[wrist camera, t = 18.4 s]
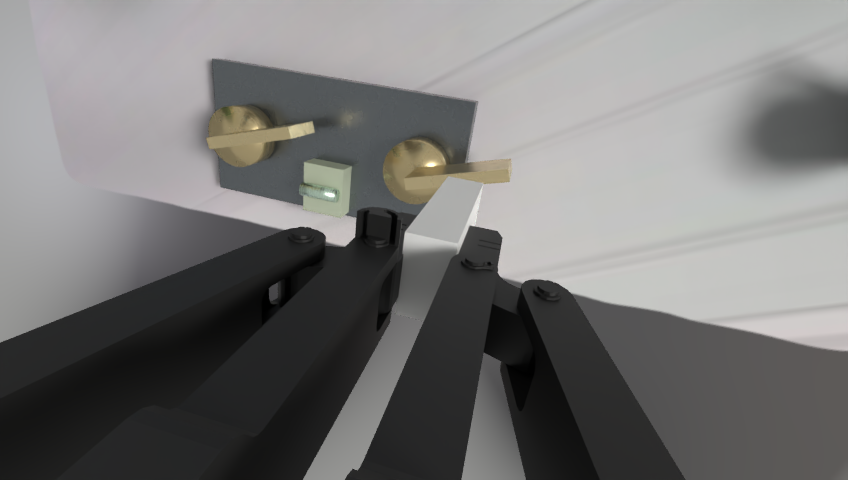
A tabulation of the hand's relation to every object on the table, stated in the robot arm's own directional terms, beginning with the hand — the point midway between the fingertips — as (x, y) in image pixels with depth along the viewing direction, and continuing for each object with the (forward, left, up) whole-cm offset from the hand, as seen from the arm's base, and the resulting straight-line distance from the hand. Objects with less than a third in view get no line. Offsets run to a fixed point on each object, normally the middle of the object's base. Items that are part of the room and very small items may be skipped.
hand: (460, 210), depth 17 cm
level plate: (-9, -18, -31) cm, 37 cm away
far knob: (-15, -23, -29) cm, 40 cm away
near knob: (0, -7, -29) cm, 30 cm away
